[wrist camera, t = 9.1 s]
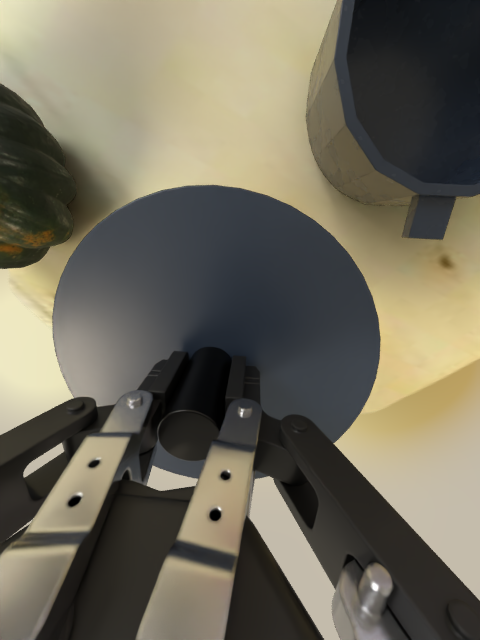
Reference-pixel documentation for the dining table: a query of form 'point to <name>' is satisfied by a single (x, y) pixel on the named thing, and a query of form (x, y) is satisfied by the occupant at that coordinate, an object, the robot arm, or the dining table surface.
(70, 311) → the lid
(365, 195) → the pot
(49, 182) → the squash
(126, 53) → the dining table surface
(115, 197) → the dining table surface
